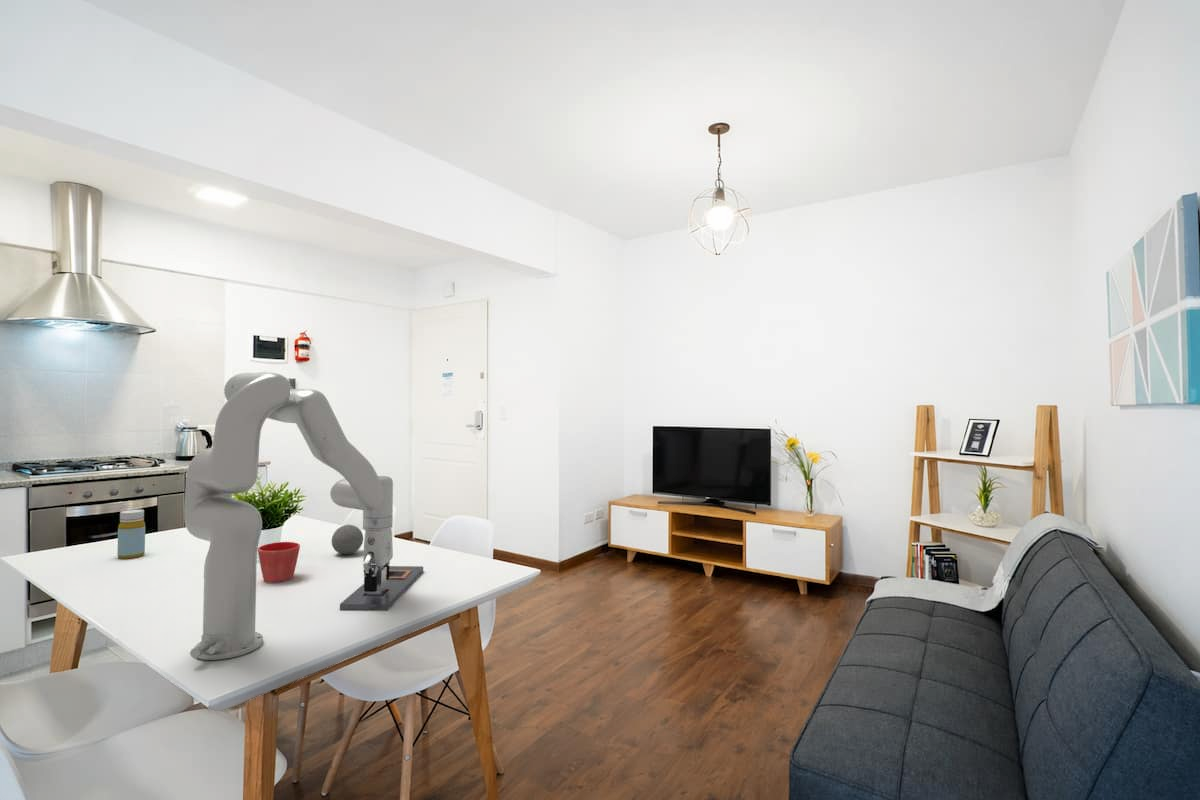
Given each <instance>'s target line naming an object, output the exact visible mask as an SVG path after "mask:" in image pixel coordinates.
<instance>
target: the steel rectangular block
mask: <svg viewBox="0 0 1200 800" xmlns="http://www.w3.org/2000/svg"><path fill="white" fill-rule="evenodd" d="M372 570H374V568H372ZM386 570H387V567H378V568H377V572H376V576H377V591H376V592H366V596H384V595H385V594H386Z"/></svg>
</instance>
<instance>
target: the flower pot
mask: <svg viewBox="0 0 1200 800" xmlns="http://www.w3.org/2000/svg"><path fill="white" fill-rule="evenodd" d="M300 548H301V544H300V543H299V542H295V541H280V542H279V541H277V542H270V543H266V544H263V545H261V546H258V550H257V556H258V560H259V565H260V570H261V574H262V579H263V581H264V582H265V581H266V582H265V583H269V582H275V583H280V582H279V581H281V582H286V581H285V580H287V581H290V580H291V578H292V579H293V578H294V577H295V571H296V567H297V563H298V558H299V554H300V550H301V549H300ZM289 579H290V580H289Z"/></svg>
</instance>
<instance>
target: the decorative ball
mask: <svg viewBox="0 0 1200 800" xmlns="http://www.w3.org/2000/svg"><path fill="white" fill-rule="evenodd" d="M363 544H364V535H363V532H362V530H361V529H360V528H359V527H357V526H356V525H353V524H345V525H342V526H340V527H339V528H337V529H336V530H335V531H334V532H333V534H332V537H331V545H332V548H333V549H334V551H335V552H336V553H338V554H340V555H345V556H347V555H352V554H354V553H356V552H357V551H359V549H360V548H361V547H362V545H363Z"/></svg>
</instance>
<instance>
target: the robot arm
mask: <svg viewBox="0 0 1200 800" xmlns="http://www.w3.org/2000/svg"><path fill="white" fill-rule="evenodd" d="M223 391H224V392H223V394H224V397H225V399H226V402H225V403H224V404H223V406H222V407H221V409H220V411H219V413H218V416H217V418H216V420H215V426H214V431H213V432H214V433H213V441H212V447H208V448H206V449H202V450H200V451H199V452H198V453H196V455H194V456H193V457H192V459H191V461H190V463H189V464H188V468H187V471H186V479H185V491H184V492H185V494H184V509H183V511H184V512H183V516H184V519H183V520H184V525H185V529H187V531H188V533H189V534H191V535H192V536H193V537H194V538H197V539H200V540H203V541H207V542H210V543H209V547H208V551H207V554H206V556H205V560H204V566H203V567H204V568H203V612H202V618H203V619H202V620H203V621H202V635H201V640H200V642H198V643H197V644H196V645H195V646H194V647H193V648H192V649H191V650H190V652H189V654H190V657H191V658H193V659H199V660H204V661H219V660H226V659H227V658H228V659H232V658H236V657H240V656H243V655H246V654H250V652H251V653H252V652H254V651H255V650H257V649H259V648H260V647H261V646H262V645H263V643H264V635H263V634H262V633H259V632H256V613H257V611H256V609H257V608H256V605H257V563H258V562H257V561H258V560H257V559H258V548H259V544H260V538H261V533H262V531H263V530H262V528H263V519H262V515H261V513H260V512H259V509H257V507H255V505H254V504H251V503H249V502H248V501H244V500H240V499H234V498H233V494H235V495H237V494H243V493H246V492H248V491H250V490H251V489H252V488H253V487H254V486H255V484H256V482H257V480H258V475H259V459H260V441H261V440H260V439H261V432H262V429H263V425H264V423H265V421H266V420H267V419H269V420H273V421H278V422H282V423H287V424H296V426H297V428H298V430H299V431H300V433H301V435H302V437H303V439H304V440H305V443H306V444H307V447H308V448H309V450H310V452H311V454H312V456H313V457H314V458H315V459H316V460H318V461H320V462H321V463H322V464H325V465H326V466H327V467H330V468H331V469H333V470H335V471H336V472H337V473H339V475H340V476H342V477H343V478H342V479H340V480H338V481H336V482H335V483H334V484H333V486H332V487H331V488H330V493H329V494H330V498H331V500H332V502H333V503H334V504H335V505H337V506H339V507H342V508H347V509H353V510H360V511H362V529H363V531H365V532H364V538H363V565H362V566H363V577H364V578H363V584H364V591H365V592H376V591H377V576H376V572H377V568H378V567H387V570H386V580H388V579H389V566H390V562H391V560H392V559H393V557H394V555H393V554H394V551H393V548H394V547H393V533H392V532H393V531H392V528H393V519H394V517H393V515H394V514H393V512H394V511H393V508H394V507H393V504H394V481H393V479H392V477H390V476H387V475H378V474H377V471H376V470H375V467H374V466H373V465H372V464H371V462H370V461H369V460H368V459H367V458H366V457H365V456H364V455H363V454H362V452H360V451H359V449H357V448H356V447H355V446H354V445H353V444H352V443H351V442H350V441H349V439H347V436H346V434H345V433H344V431H343V429H342V427H341V425H340V423H339V421H338V419H337V416H336V415H335V412H334V411H333V409H332V407H331V404H330V402H329V400H328V399H327V397H326V396H325V395H324V393H323V392H321V391H319V390H316V389H311V388H310V389H309V388H307V389H306V388H292V387H291V382H290V381H289V380H288V378H287V377H286V376H284V375H282V374H280V373H277V372H242V373H238V374H235V375H234V376H231V377H230V378H229V379H228V380H227V382H226V383H225V385H224V389H223ZM372 568H374V570H372Z"/></svg>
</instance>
